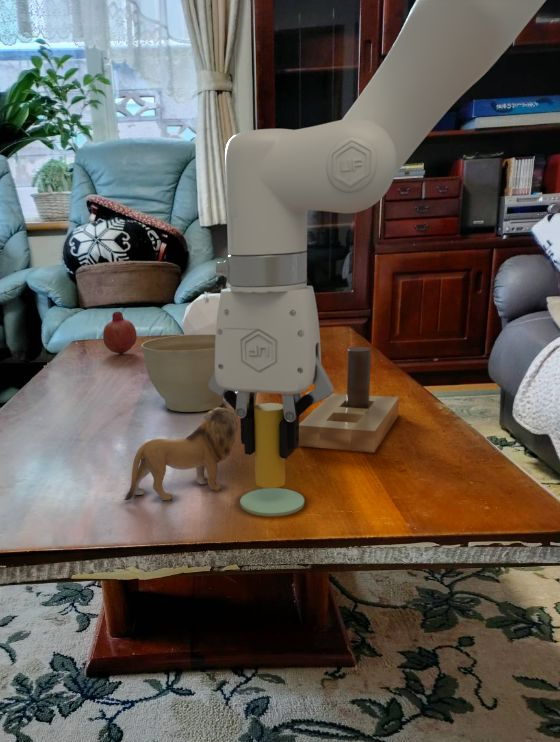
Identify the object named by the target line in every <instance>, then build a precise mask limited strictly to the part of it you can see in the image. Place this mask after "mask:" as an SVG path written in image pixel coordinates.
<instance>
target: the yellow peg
mask: <svg viewBox="0 0 560 742" xmlns="http://www.w3.org/2000/svg"><path fill="white" fill-rule="evenodd" d="M283 414H284V411H283V403H282V404H281V403H277V402H265V403H259V404H256V406H255V407H254V430H255V452H254V474H255V476H254V477H255V479H254V480H255V485H256V486H258V487H260V488H262V489H266V488H280V487H283V486H284V485H285V484H286V459H284V458H281V457H280V456H279V423H280V422H281V421H282V420H283Z"/></svg>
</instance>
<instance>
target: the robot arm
mask: <svg viewBox="0 0 560 742" xmlns="http://www.w3.org/2000/svg"><path fill="white" fill-rule="evenodd" d="M546 1H547V0H415V2H414V3H413V5H412V7H411V9H410V11H409V13H408V14H407V15H408V16H407V17H406V20H405V22H404V23H403V26H402V28H401V30H400V32H399V34H398V36H397V37H396V40H395V41H394V43H393V44H392V46H391V47H390V50H389V51H388V53H387V55H386V56H385V58H384V60H383V61H382V62H381V64H380V66H378V68H377V70H376V72H375V73H374V75H373V76H372V78H371V79H370V80H369V82H368V83H367V85H366V86H365V88H364V89H363V90H362V92H361V93H360V94H359V96H357V99H356V100H355V102H353V104H352V106H351V107H350V108H349V109H348V111H347V112H346V113H345V115H344V116H343V117H342V119H340V120H334V121H330V122H326V123H323V124H318V125H313V126H308V127H303V128H298V129H289V128H262V129H261V128H260V129H252V130H247V131H242V132H238V133H236V134H234V135H233V136H232V137H231V138H229V140H228V141H227V143H226V145H225V151H224V170H225V197H226V198H225V201H226V226H227V227H226V228H227V229H226V230H227V254H228V255H226V256H225V260H224V261H217V262H216V265H215V273H216V275H217V276H218V277H224V278H226V284H229V285H228V286H229V287H227V288H223V289H221V290H220V293H221V294H220V299H219V306H218V314H217V324H216V338H215V371H214V373H213V375H212V377H211V379H210V381H209V383H208V387H209V389H210V390H212V391H213V392H215V393H217V394H218V395H220V396H221V397H223V400H225V401H226V402H227V404H228V405H229V406H230V407H231V408H232V409H233V410H234V411H235V416H236V417H237V418H238V419H240V442H241V444H242V445H243V446H244V455H248V456H251V455H253V454H255V430H254V407H255V406H256V405H257V394H258V393H260V394H274V395H275V394H276V395H277V394H278V395H281V402H282V405H283V411H284V414H283V420H282V421H281V422H280V423H279V456H280V457H281V458H284V459H285V460H287V459H288V457H290V456H291V455H292V454H293V453H294V452H295V450H297V449H298V447H299V446H298V445H299V424H300V416H301V415H303V413H304V412H305V411H306V410H307V409H309V408H310V407H311V406H313V405H315V404H317V403H319V402H322V401H324V400H325V399H327V398H328V397H329V396H330V395H331V394H334V392H335V388H334V385H333V383H332V382H331V380H330V378H329V376H328V374H327V372H326V370H325V368H324V366H323V364H322V348H321V347H322V345H321V332H320V331H321V330H320V322H319V321H320V320H319V314H318V307H317V301H316V295H315V291H314V287H313V285H307V283H308V282H307V281H308V271H307V270H308V261H307V260H308V252H307V251H308V211H316V212H329V213H336V214H337V213H338V214H356V213H360V212H362V211H366V210H368V209H370V208H371V207H373V206H374V205H376V204H377V203H378V202H379V201H380V200H382V198H383V197H384V196H385V195H386V194H387V192H388V191H389V189H390V188H391V185H392V184H393V182H394V179H395V177H396V175H397V174H398V172H400V170H401V169H402V167H403V166H404V165H405V163H407V161H408V160H409V159H410V157H411V156H412V155H413V153H414V152H415V151H416V149H417V148H418V147H419V146H421V145H420V144H421V143H422V142H423V141H424V140H425V138H426V137H427V136H428V135H429V134H430V132H431V131H432V130H433V129H434V127H436V126H437V124H438V123H439V122H440V120H441V119H442V118H443V117H444V115H446V113H447V112H448V111H449V110H450V109H451V107H453V105H455V103H456V102H457V101H458V100H459V99H460V98H461V97H462V96H463V95H465V93H466V92H468V90H470V88H471V87H472V86H473V85H475V84H476V83H477V82H478V81H479V80H481V78H482V77H483V76H484V75H485V74H487V72H489V70H490V69H491V68H492V67H493V66H494V65H495V64H496V63H497V61H498V60H499V59H500V58H501V56H502V55H503V54H504V53H505V52H506V51H507V50H508V49H509V47H510V46H511V45H512V44H513V43H514V42H515V40H516V39H517V37H518V36H519V35H520V34H521V32H522V31H524V29H525V27H526V26H527V25H528V24H529V22H530V21H531V20H532V19H533V17H534V16H535V15H536V14H537V12H538V11H539V10H540V8H541V7H542V6H543V5H544V3H546ZM312 385H314V389H312V390H310V391H308V389H309V388H311V387H312ZM306 391H308V392H306ZM305 392H306V393H305ZM302 393H305V394H304V395H303V394H302Z"/></svg>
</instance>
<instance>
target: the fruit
mask: <svg viewBox="0 0 560 742" xmlns="http://www.w3.org/2000/svg"><path fill="white" fill-rule="evenodd" d="M111 317H112V319H111V321H109V322H108V323H107V322H106V324H105V325H104V327H103V332H102V339H103V340H102V341H103V344H104V345H105V347H106V349H108V350H109V351H110V352H112V353H115V354H119V355H123V354H124V353H127V352H128V351H129V350H131V349H132V347H134V345H135V344H136V342H137V330H136V327H135V325H134V324H133V323H132V321H130V320H128V319H125V318H124V315H123V313H122V312H121V311H120V310H119V311H114V312H112V316H111Z"/></svg>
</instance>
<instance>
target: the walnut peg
mask: <svg viewBox="0 0 560 742" xmlns="http://www.w3.org/2000/svg"><path fill="white" fill-rule="evenodd" d="M371 359H372V349H371V348H370V347H368V346H353V347H349V348H347V363H346V366H347V367H346V394H347V406H346V407H349V408H365V409H369V396H370V388H371V387H370V386H371V384H370V383H371V361H372V360H371Z"/></svg>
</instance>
